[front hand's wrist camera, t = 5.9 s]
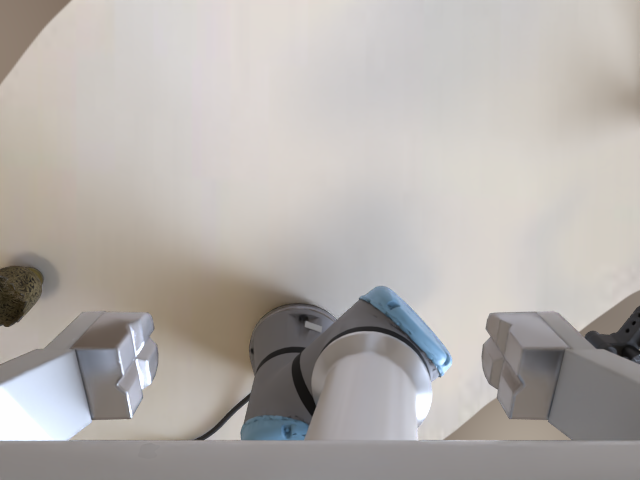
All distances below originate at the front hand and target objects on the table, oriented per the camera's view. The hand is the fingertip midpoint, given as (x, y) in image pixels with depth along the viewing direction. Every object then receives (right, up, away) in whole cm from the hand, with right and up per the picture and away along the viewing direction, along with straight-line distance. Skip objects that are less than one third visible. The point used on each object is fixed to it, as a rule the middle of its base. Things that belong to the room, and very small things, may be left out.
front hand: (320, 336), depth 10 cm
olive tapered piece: (-42, -3, +52) cm, 67 cm away
